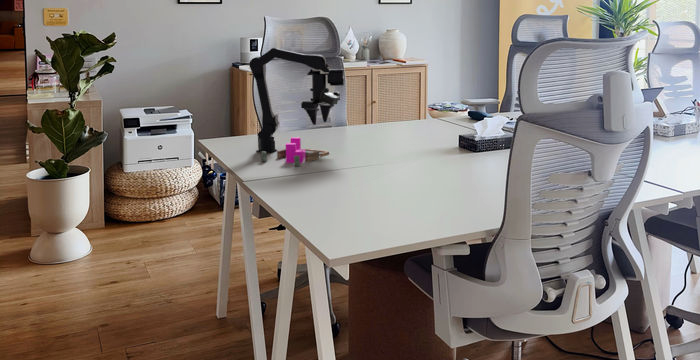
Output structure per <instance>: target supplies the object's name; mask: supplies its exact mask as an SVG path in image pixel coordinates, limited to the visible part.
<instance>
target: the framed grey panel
mask: <svg viewBox="0 0 700 360" xmlns="http://www.w3.org/2000/svg"><path fill="white" fill-rule="evenodd" d="M304 149H305V159H304V160H305V161H304V162H305V163H311V162H312V161H316V160H318V159H320V157H324V156H328V155H329V154H330V152H329V151H327V150H320V149H311V148H304ZM260 155H261V163H267V161H268V160H267V159H268V158H267V153H266V152H265V151H263V152H260ZM276 158H277V159H278V160H279V159H282V158H286V148H283V149H279V150H277V151H276ZM293 164H294V167H295V168H296V167H297V168H299V167H300V157H299V156H294V163H293Z"/></svg>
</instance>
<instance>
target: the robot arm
mask: <svg viewBox="0 0 700 360" xmlns="http://www.w3.org/2000/svg"><path fill="white" fill-rule="evenodd" d="M274 59H279V60H280V59H281V60H284V61H289V62H294V63H299V64H302V65H305V66H307V67H309V68H311V69H310V70H309V71H308V73H306V74H307V76H311V80H312V81H311V83H312V85H311V86H312V88H310V89H309V91H310V92H312V93H311V95H312V96H311V98H310V100H309V99H308V100H303V101H302V102H301V103H300V108H301V109H303V110H305V112H306V113H307V115H308V117H309V120H310V121H311V122H312V125H313V126H314V125H315V126H316V124H317V116H318V115H317V114H318V112H319V110H320V113H321V117H322V120H323V122H324V123H326V122H327V121H328V118H329V115H330V111H331V110H332V109H333V108H334V107H335V105H337V104H338V102H339V101H340V100H341V95H340V94H341V93H340V92H339V91H334V92H330V89H329V88H328V87H327V84H328V85H330V86H331V87H334V86H335V87H339V86H340V87H342V86H343V87H344V85H345V76H344V69H343V68H341V69H340V68H339V69H331V68H330V66H329V65H328V64H327V59H326V57H325V56H324V55H323V54H311V53H310V54H307V53H306V54H305V53H301V52H295V51H291V50H286V49H282V48H278V47H272V48H270V49H269V50H268V51H267V52H265V53H264V54H261V56H255V57H253V58H252V59H250V61H249V63H248V64H249V65H248V66H249V69H250V70H251V74H252V75H253V78H254V79H255V82H256V87H257V88H256V89H257V92H258V97H259V101H260V107H261V111H262V112H261V113H262V117H261V120H262V121H261V124H262V126H261V127H262V129H261V130H260V131H258V132H257V134H256V135H257V144H258V145H257V146H258V148H257V149H256V150H255V152H256V153H257V152H258V153H261V152H263V151H265V152H266V154H270V153H273V152H277V151H278V150H277V149H276V140H275V136H274V134H275V132H276V131H277V130H278V128H279V125H280V121H279V119H278V118H279V116H278V115H279V114H274V112H273V108H272V103H271V99H270V93H269V89H268V83H267V78H266V74H267V64H268V63H269V62H271V61H273V60H274ZM321 71H322V72H321Z"/></svg>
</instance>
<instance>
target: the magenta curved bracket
mask: <svg viewBox="0 0 700 360" xmlns="http://www.w3.org/2000/svg"><path fill="white" fill-rule="evenodd" d="M301 141H302V140H301V137H290V142H286V143H285V149H286V157H285V162H286V163H287V164H288V163H290V164H294V156H299V157H300V163H301V164H302V163H303V162H304V160H305V149H306V148H303V149H302V148H301V147H302V146H301V145H302V144H301Z"/></svg>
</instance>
